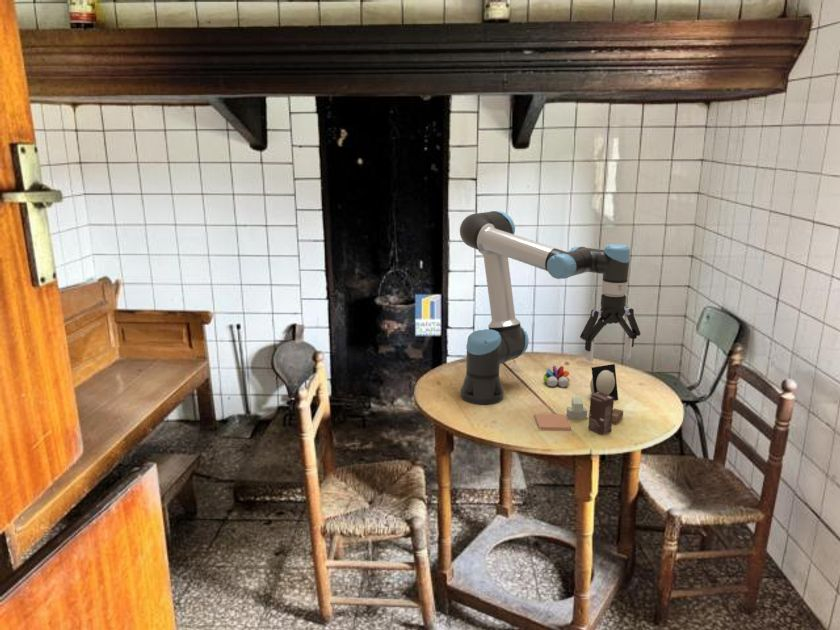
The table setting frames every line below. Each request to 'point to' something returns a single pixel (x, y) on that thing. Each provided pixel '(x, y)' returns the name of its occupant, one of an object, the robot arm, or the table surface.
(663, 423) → the table surface
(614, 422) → the walnut brick
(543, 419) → the tile
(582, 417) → the grey brick
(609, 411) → the box
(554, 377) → the rainbow disc rolling toy
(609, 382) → the decorative object
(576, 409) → the pale green brick
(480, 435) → the table surface
